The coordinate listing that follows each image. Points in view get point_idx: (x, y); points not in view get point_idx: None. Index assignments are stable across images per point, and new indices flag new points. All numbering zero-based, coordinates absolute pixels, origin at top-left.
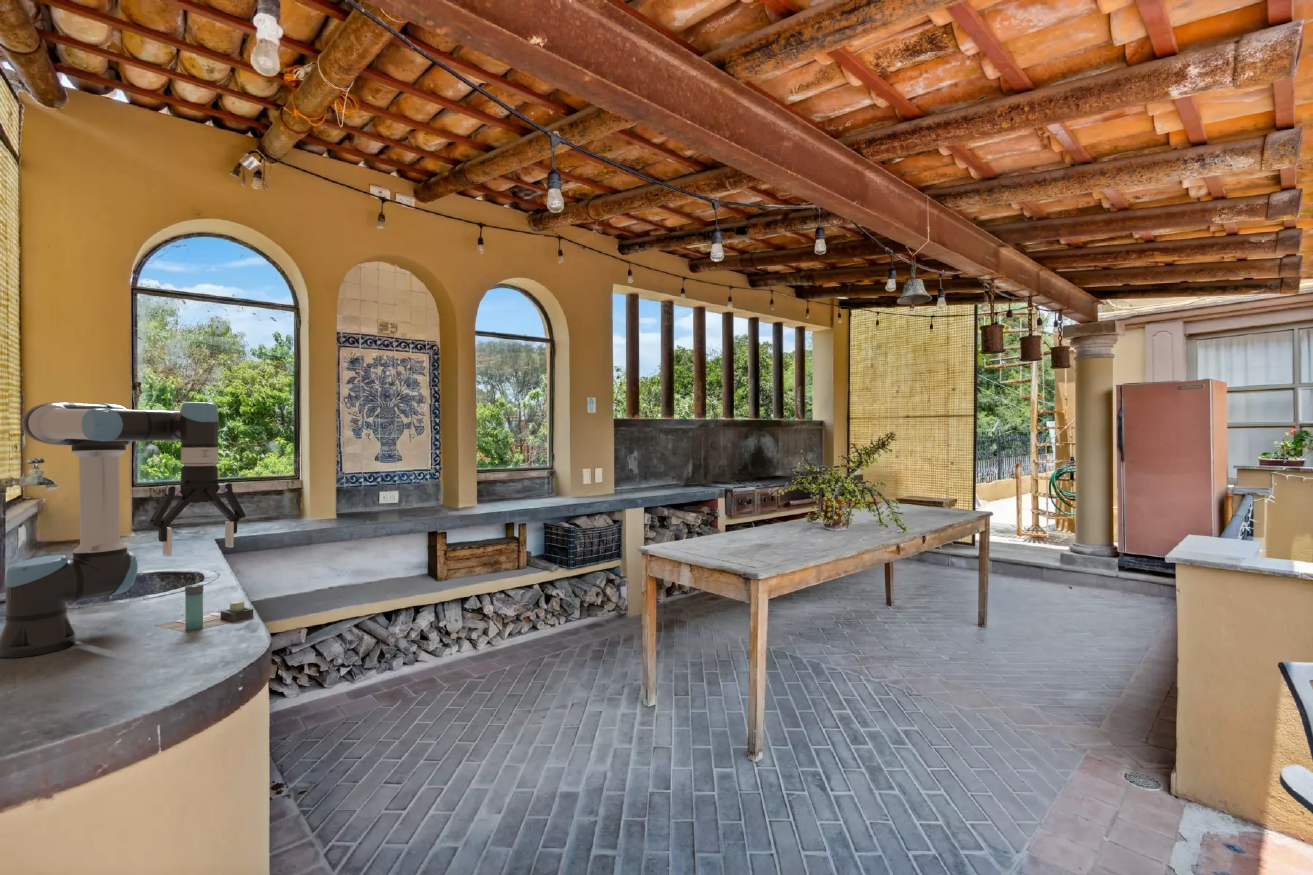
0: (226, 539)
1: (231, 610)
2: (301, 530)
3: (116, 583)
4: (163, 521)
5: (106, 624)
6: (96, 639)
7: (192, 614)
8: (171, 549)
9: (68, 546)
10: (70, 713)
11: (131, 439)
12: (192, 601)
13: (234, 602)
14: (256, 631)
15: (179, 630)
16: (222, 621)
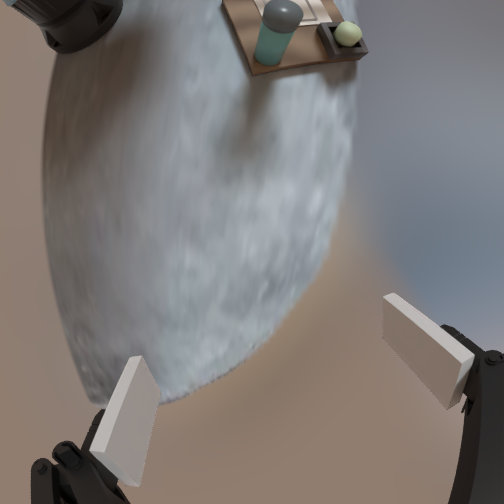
0: (400, 325)
1: (336, 38)
2: None
3: None
4: (85, 486)
5: None
6: (144, 6)
7: (267, 51)
8: (156, 408)
9: None
10: (105, 350)
11: None
12: (272, 39)
13: (347, 25)
14: (352, 125)
15: (245, 47)
16: (316, 44)
